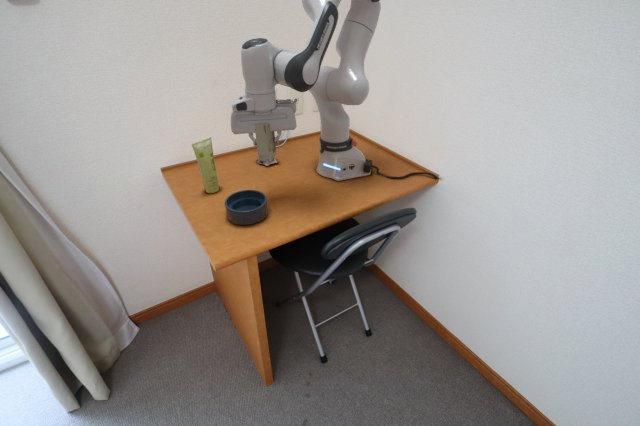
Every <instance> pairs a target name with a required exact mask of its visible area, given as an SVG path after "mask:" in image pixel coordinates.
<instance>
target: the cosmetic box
mask: <svg viewBox="0 0 640 426" xmlns="http://www.w3.org/2000/svg"><path fill="white" fill-rule="evenodd" d="M254 125H255V133H254V134H255V139H256V141H257V146H256V149H257V158H258V160H260V161H272V159H273V158H274V159H275V157H276V155H277V144H274V137H276V134H275V131H272V132H270V124H268V123H264V124H254Z"/></svg>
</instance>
